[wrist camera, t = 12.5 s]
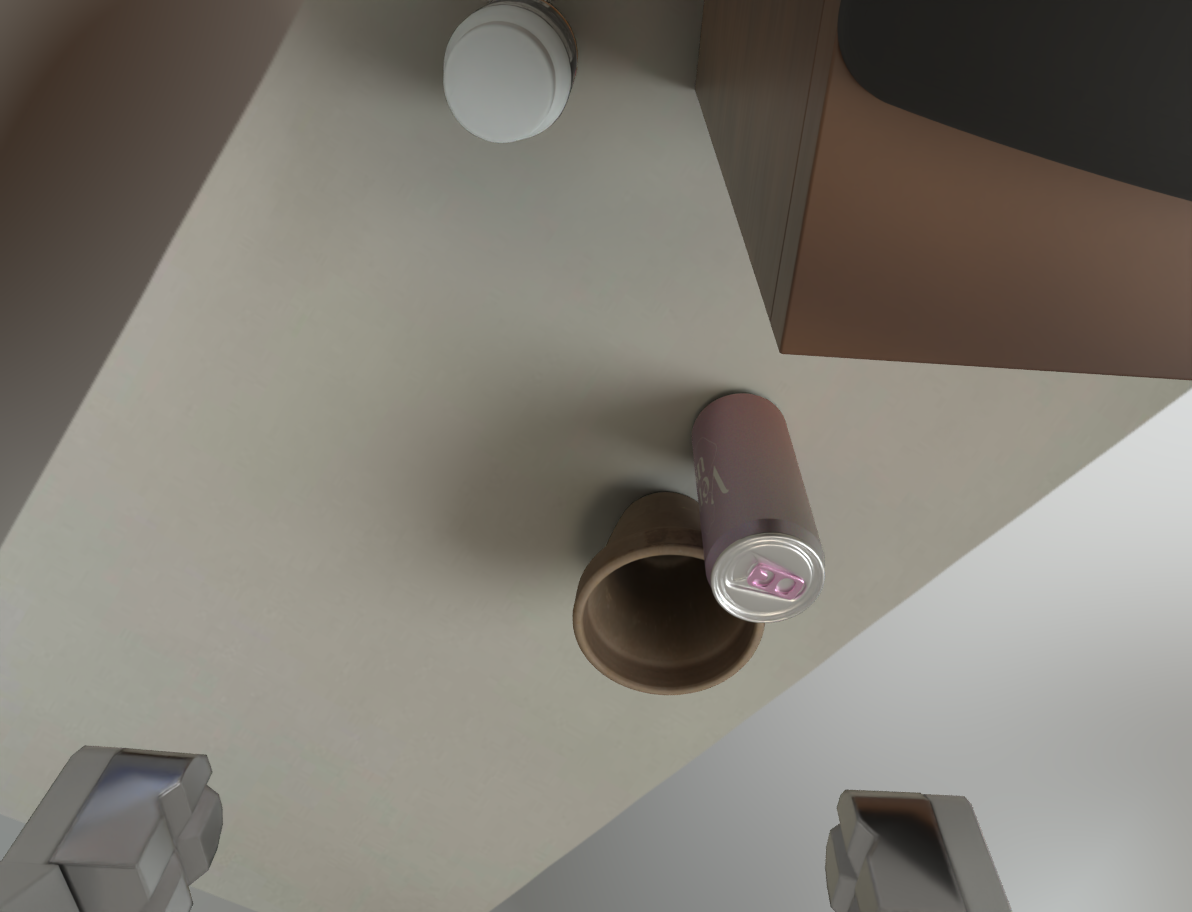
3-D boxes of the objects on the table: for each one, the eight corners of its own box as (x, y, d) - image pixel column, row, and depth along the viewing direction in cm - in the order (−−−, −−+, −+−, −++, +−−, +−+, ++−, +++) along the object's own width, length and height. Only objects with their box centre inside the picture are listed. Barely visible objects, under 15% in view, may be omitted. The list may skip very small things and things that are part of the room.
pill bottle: (527, 136, 48) (504, 185, 39) (445, 54, 46) (401, 88, 37) (602, 53, 45) (594, 87, 37) (518, -36, 44) (490, -22, 35)
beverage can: (756, 481, 59) (790, 641, 46) (675, 449, 58) (686, 603, 45) (802, 409, 56) (852, 558, 43) (718, 374, 55) (743, 515, 42)
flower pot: (589, 446, 58) (581, 540, 49) (762, 464, 58) (784, 561, 50) (573, 582, 64) (564, 687, 55) (730, 599, 64) (745, 705, 56)
